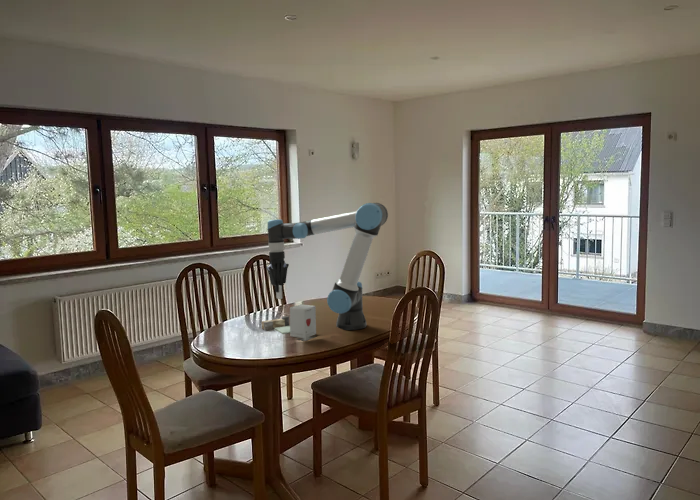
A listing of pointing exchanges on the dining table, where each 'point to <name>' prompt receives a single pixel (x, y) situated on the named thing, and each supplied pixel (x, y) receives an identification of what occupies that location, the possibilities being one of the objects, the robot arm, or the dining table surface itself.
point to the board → (268, 325)
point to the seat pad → (283, 329)
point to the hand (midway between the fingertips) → (279, 298)
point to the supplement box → (303, 322)
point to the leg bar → (278, 322)
